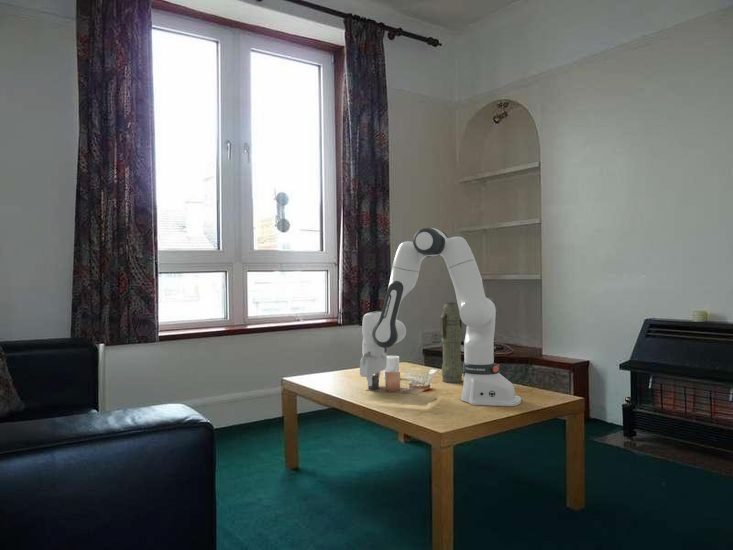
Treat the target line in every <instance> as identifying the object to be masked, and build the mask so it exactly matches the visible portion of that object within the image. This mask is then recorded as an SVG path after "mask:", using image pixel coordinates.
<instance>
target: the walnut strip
mask: <svg viewBox="0 0 733 550" xmlns="http://www.w3.org/2000/svg"><path fill="white" fill-rule="evenodd" d="M372 381H373V385H372V386H368V385H367V386H368V387H367V389H366V390H365V391H367V392H378V393H379V392H380V393H390V394H401V395H402V394H404V395H419V394H420V393H423V392H424V391H425V389H423V388H422V389H421V388H408V387H400V391H386V390H385V385H384V386H383V385H380V384H379V383H380V377H379V376H377V375H375V374H373V375H372Z"/></svg>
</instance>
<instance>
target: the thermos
mask: <svg viewBox="0 0 733 550" xmlns="http://www.w3.org/2000/svg"><path fill="white" fill-rule="evenodd" d="M439 323H440V324H439V326H440V329H439V332H440V333H439V335H440V337H441V343H442V365H441V376H442V380H441V381H442V382H443V383H446V384H458V383H460V384H461V383H462V382H463V378H462V377H463V364H462V352H461V349H462V346H461V344H462V341H463V340H462V339H463V338H462V336H463V322H462V320H461V318H460V311H459V307H458V303H457V302H445V303H443V307H442V314H441V315H440V318H439Z"/></svg>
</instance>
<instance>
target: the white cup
mask: <svg viewBox="0 0 733 550" xmlns="http://www.w3.org/2000/svg"><path fill="white" fill-rule="evenodd" d="M399 370H400V356H399V355H387V364H386V369H385V370H382V373H383V379H384V380H385V372H389V371H397V372H400V371H399Z"/></svg>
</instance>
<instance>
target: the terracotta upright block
mask: <svg viewBox="0 0 733 550" xmlns="http://www.w3.org/2000/svg"><path fill="white" fill-rule="evenodd" d="M384 381H385V382H384V383H385V385H384V386H385V390H386V391H400V388H401V372H400V371H399V372H397V371H389V372H385V379H384Z"/></svg>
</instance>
